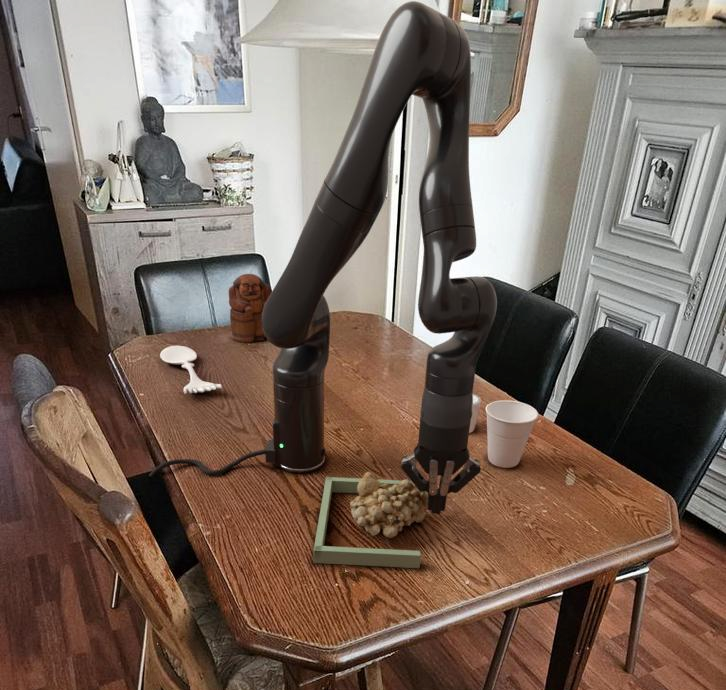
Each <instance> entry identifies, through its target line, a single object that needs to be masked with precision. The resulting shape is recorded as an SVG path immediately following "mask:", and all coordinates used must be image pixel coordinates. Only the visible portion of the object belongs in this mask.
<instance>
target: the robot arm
mask: <svg viewBox="0 0 726 690" xmlns="http://www.w3.org/2000/svg"><path fill="white" fill-rule="evenodd" d="M369 62H370V63H369V66H368V69H367V72H366V75H365V78H364V80H363V83H362V87H361V90H360V92H359V96H358V99H357V101H356V104H355V107H354V109H353V112H352V115H351V117H350V120H349V122H348V124H347V127H346V130H345V132H344V135H343V137H342V139H341V141H340V144H339V146H338V148H337V151H336V154H335V156H334V157H333V160H332V163H331V164H330V167H329V168H328V171H327V173H326V174H325V176H324V179H323V181H322V183H321V186H320V189H319V191H318V192H317V195H316V197H315V199H314V202H313V204H312V207H311V210H310V212H309V214H308V216H307V219H306V222H305V224H304V226H303V228H302V230H301V233H300V235H299V237H298V240H297V242H296V244H295V246H294V249H293V252H292V254H291V257H290V259H289V261H288V263H287V265H286V267H285V269H284V271H283V272H282V274H281V276H280V277H279V279H278V281H277V282H276V284H275V286H274V287H273V289H272V292H271V294H270V296H269V298H268V299H267V301H266V303H265V305H264V308H263V311H262V327H263V331H264V334H265V336H266V338H267V339H266V340H267V341H268V342H269V343H270V344H271V345H273V346H274V347H276V348H279V349H280V351H279V353H278V355H277V357H276V358H275V360H274V362H273V364H272V388H273V409H274V418H273V419H272V420H273V421H272V439H268V441H267V444H266V446H265V448H264V449H261V450H256V451H253V452H249V453H246V454H244V455H242V456H240V457H238V458H237V459H236V460H234V461H232V462H230V463H228V464H227V465H225V466H223V467H222V468H219V469H216V470H215V469H214V470H211V469H209V468H207V467H206V466H205V465H204V464H203V463H202V462H201V461H199V460H197V459H187V458H181V459H180V458H179V459H172V460H168V461H165V462H163V463H160V464H159V465H157V466H156V467H154V469H152V471H151V472H150V473H149V475H148V476H149V477H155V476H156V475H157V474H158V473H159V472H160V471H162V470H163V469H165V468H167V467H170V466H173V465H183V464H184V465H185V464H188V465H195V466H197V467H198V468H199V469H200V470H201V471H202V472H203V473H204V474H206V475H211V476H215V475H216V476H217V475H221V474H225V473H226V472H227V471H229V470H231V469H232V468H235V467H236V466H237V465H239V464H241V463H242V462H244V461H246V460H248V459H252V458H254V457H258V456H262V455H264V456H265V463H266V464H267V463H269V464H274V468H275V469H276V468H277V469H281V470H284V471H286V472H288V473H289V472H290V473H295V474H304V473H305V474H306V473H311V472H314V471H316V470H318V469H320V468H321V467H323V466H324V464H325V461H326V455H325V453H326V447H325V371H326V368H327V365H328V362H329V357H330V340H331V339H330V337H331V312H330V307H329V302H328V301H327V299H326V297H325V295H324V294H325V292H326V290H327V289H328V287H329V286H330V284H331V283H332V281H333V280H334V279H335V277H336V276H337V275H338V274H339V273H340V272H341V270H343V268H344V267H345V266H346V265H347V263H348V262H349V261H350V260H351V259H352V258H353V256H354V255H355V253H357V251H358V250H359V249H360V247H361V246H362V244H363V243H364V241H365V240H366V238H367V237H368V235H369V234H370V232H371V230H372V228H373V226H374V224H375V222H376V220H377V218H378V217H379V215H380V213H381V210H382V208H383V206H384V204H385V201H386V199H387V195H388V190H389V177H390V176H389V175H390V149H391V148H390V147H391V144H392V143H391V142H392V138H393V135H394V132H395V129H396V127H397V125H398V122H399V120H400V118H401V116H402V113H403V111H404V110H405V108H406V106H407V104H408V102H409V100H410V99H411V97H412V96H415V97H418V98H420V99H422V102H423V105H424V109H425V114H426V119H427V123H428V124H427V125H428V137H429V138H428V147H427V154H426V159H425V161H424V166H423V170H422V173H421V178H420V181H419V188H418V189H419V190H418V213H419V222H420V228H421V237H422V245H423V256H422V266H421V267H422V269H421V277H420V283H419V285H420V286H419V291H418V300H417V311H418V315H419V318H420V322H421V323H422V324H423V327H424V328H426V330H428V331H429V332H430V333H432V334H436V335H437V334H438V335H440V334H449V333H453V334H452V335H451V337H450V338H448V339H447V340H446V341H444V342H441V343H439V344H436V345H434V346H432V348H430V350H429V351H428V353H427V357H426V367H425V378H424V387H423V392H422V396H421V403H420V412H419V413H420V415H419V416H420V417H419V429H418V440H417V445H416V446H415V448H414V449H413V453H412V454H410V455H408V456H405V455H403V456H402V457H401V459H400V469H401V470H402V471H403V472H404V474H405V475H406V476H407V477H408V478H409V480H410V481H412V482H413V483H414V485H415V486H416V487H417V488H418V490H419V491H421V492H423V491H426V492H428V502H427V504H428V511H430V512H431V515H441V514H442V512H445V509H446V505H447V497H448V495H449V494H451V493H454V494H458V493H459V492H460V491H461V490H462V489H463V488H464V487H466V486H467V485H469V483H470V482H471V481H472V480H473V479H475V477H477V476H478V475H479V474H480V473H481V472H482V469H481V465H480V460H479V459H477V458H475V459H474V458H473V457H471V456H470V452H469V449H468V443H469V436H470V433H469V430H470V422H471V418H472V407H473V394H474V385H475V376H476V371H477V370H476V368H477V363H478V360H479V358H480V356H481V354H482V352H483V349H484V346H485V344H486V342H487V339H488V336H489V334H490V332H491V330H492V327H493V324H494V321H495V318H496V314H497V309H498V308H497V307H498V300H497V299H498V298H497V293H496V290H495V287H494V286H493V284H492V282H490V280H489V279H487V278H485V277H483V276H477V275H476V276H464V277H463V276H462V277H452V278H450V277H451V276H450V273H451V268H452V265H453V263H455V262H459V261H462V260H464V259H466V258H469V257H470V256H472V255H473V254H474V253H475V251H476V249H477V233H476V224H475V215H474V206H473V199H472V197H473V196H472V187H471V176H470V118H471V117H470V116H471V115H470V113H471V112H470V111H471V110H470V109H471V86H472V85H471V83H472V81H471V80H472V53H471V44H470V40H469V36H468V33H467V32H466V30H465V28H464V27H463V26H462V25H461V24H459V22H457V21H456V20H455V19H453V18H451V17H449V16H447V15H445V14H444V13H442V12H440V11H437V10H436V9H434V8H432V6H429V5H428V4H427V5H426V4H425V3H423V2H420V1H416V0H410V1H407V2H405V3H403V4H401V5H400V6H399V7H397V9H396V10H394V12H392V14H391V15H390V16H389V18H388V20H387V21H386V23H385V24H384V27H383V29H382V31H381V33H380V36H379V38H378V41H377V42H376V46H375V48H374V51H373V53H372V57H371V60H370V61H369ZM417 463H418V464H419V466H420V467H421V468H422V470H423V471H424V473H426V474H427V475H428V480H427V479H426V478H425V477H424V476H423V474H422V473H421V472H420V471H419V469H418V468H417V466H418V465H417ZM462 467H463V468H462ZM461 468H462V469H461ZM460 469H461V470H460ZM459 470H460V471H459ZM458 471H459V472H458ZM457 472H458V473H457ZM456 473H457V474H456ZM455 474H456V475H455ZM453 475H455V476H454V477H453V478H452V476H453ZM438 476H440V477H439V483H438Z"/></svg>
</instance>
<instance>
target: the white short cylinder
mask: <svg viewBox="0 0 726 690" xmlns="http://www.w3.org/2000/svg"><path fill="white" fill-rule="evenodd" d="M481 404H482V398H481V397H480V396H479V395H478V394H475V393H473V407H472V418H471V422H470V430H469V434H471V433H473V432H474V430H476V429H475V428H476V424H477V420H478V416H479V412H480V408H481Z"/></svg>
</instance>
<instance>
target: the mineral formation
mask: <svg viewBox="0 0 726 690" xmlns="http://www.w3.org/2000/svg"><path fill="white" fill-rule="evenodd" d="M360 479H361V480H360V482H359V484H358V486H357V491H358V493H357V494H358V496H355V498H354V499H353V500H351V501H350V503H349V504H350V505H349V506H350V508H351V509H350V510H351V517H352V518H353V519H354V523H356V524H357V525H358V526H360V527H364V529H365V531H366V532H367V534H370V535H371V536H372V537H375V536H376V535H379V533H380V532H381V530H382V534H383V536H384V537H386V538H389V539H393V538H394V537H396V536H397V535H398V534H399V532H402V530H403V527H404V526H409V527H410V526H411V524H412V523H413V524H414V522H415V523H418V524H420V523H421V522H422V521H424V519H425V517H426V515H427V512H426V511H427V510H428V504H427V502H428V492H426V491H423V492H421V491H419V490H418V488H417V487H416V486H415V485H414V483H413V482H410V481H411V480H410V479H401V481H402V482H401V484H399V485H396V484H395V485H393V486H392V487H390V486H389V485H388V484H382V483H381V482H379V481H377V479H378V476H377V475H376V474H374V473H372V472H370V471H367V472H365V473H364V474H363V475H362V477H361V478H360ZM428 511H429V510H428Z"/></svg>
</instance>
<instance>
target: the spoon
mask: <svg viewBox="0 0 726 690" xmlns="http://www.w3.org/2000/svg"><path fill="white" fill-rule="evenodd" d="M159 357H160V359H161V360H162V361H163V362H165V363H167V364H170V365H178V366H180V365H181V368H182V369H186V370H187V371H188V373H189V376H190V377H189V378H190V379H189V383H187V384H186V385H185V386H184V387H183V390H182V391H183V393H184V395H187V394H198V393H201V394H203V393H205V392H211V391H216V390H217V389H218V390H219V389H220V390H222V389H223V386H222V384H220V383H213V382H208V381H204V380H202V379H201V378H199V375H197V373H196V371H195V369H194V367H195V363H193V362H194V361H196V359H197V357H198V355H197V353H196V351H195V350H193V349H192V348H190V347H188V346H185V345H171V346H168V347H165V348H163V349H162V350H161V352H160V353H159Z"/></svg>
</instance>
